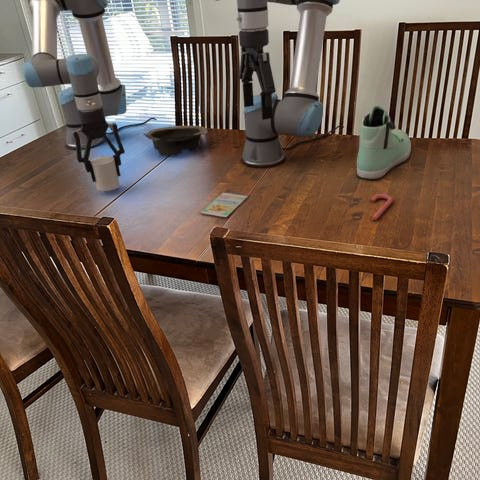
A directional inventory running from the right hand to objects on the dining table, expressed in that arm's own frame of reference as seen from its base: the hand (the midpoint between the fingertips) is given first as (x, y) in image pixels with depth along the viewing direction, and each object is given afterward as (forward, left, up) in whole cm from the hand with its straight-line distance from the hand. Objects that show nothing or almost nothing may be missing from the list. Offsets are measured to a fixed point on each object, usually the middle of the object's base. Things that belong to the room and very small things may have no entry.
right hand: (257, 112), depth 132 cm
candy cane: (-28, +20, -28) cm, 44 cm away
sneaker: (-49, -9, -28) cm, 57 cm away
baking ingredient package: (+11, -3, -28) cm, 30 cm away
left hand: (+43, -31, -22) cm, 57 cm away
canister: (+43, -31, -26) cm, 58 cm away
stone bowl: (+12, -58, -28) cm, 66 cm away
